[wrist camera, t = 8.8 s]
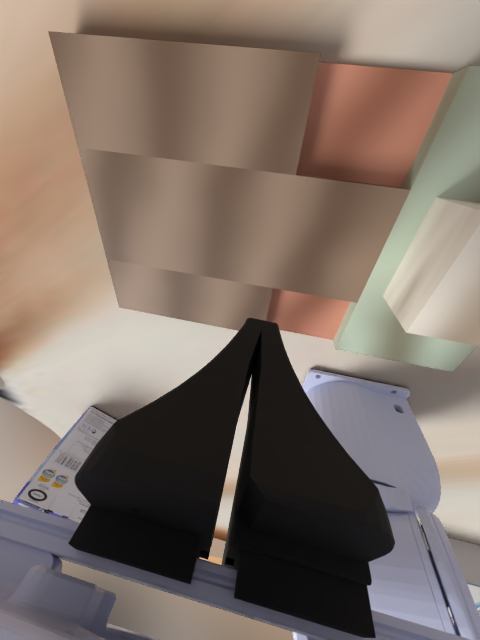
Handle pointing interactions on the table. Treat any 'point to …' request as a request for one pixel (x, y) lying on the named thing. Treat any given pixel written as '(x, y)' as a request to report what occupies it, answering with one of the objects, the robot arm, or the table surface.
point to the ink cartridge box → (65, 470)
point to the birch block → (441, 275)
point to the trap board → (268, 182)
